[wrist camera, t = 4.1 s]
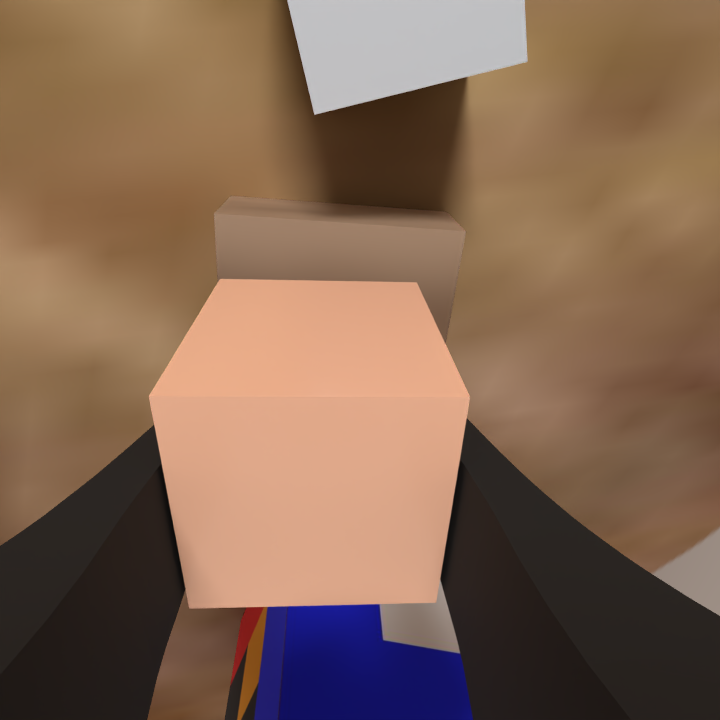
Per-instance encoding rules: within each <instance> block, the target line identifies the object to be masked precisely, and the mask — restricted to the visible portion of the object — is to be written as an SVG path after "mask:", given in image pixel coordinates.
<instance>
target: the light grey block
mask: <svg viewBox="0 0 720 720" xmlns="http://www.w3.org/2000/svg"><path fill="white" fill-rule="evenodd" d="M287 1H288V5H289V10H290V14H291V18H292V22H293V26H294V31H295V35H296V39H297V43H298V48H299V52H300V56H301V60H302V64H303V69H304V73H305V77H306V81H307V85H308V90H309V94H310V98H311V102H312V107H313V111H314V115H315V114H319V113H324V112H328V111H332V110H336V109H340V108H344V107H348V106H352V105H356V104H360V103H364V102H368V101H372V100H376V99H380V98H384V97H388V96H392V95H396V94H400V93H404V92H408V91H412V90H416V89H420V88H424V87H428V86H432V85H436V84H440V83H444V82H448V81H452V80H456V79H460V78H464V77H468V76H472V75H476V74H480V73H484V72H488V71H492V70H496V69H500V68H504V67H508V66H512V65H516V64H520V63H524V62H527V43H526V21H525V0H287Z"/></svg>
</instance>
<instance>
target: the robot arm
mask: <svg viewBox="0 0 720 720" xmlns="http://www.w3.org/2000/svg"><path fill="white" fill-rule="evenodd" d="M440 581H441V584H442V588H443V591H444V595H445V599H446V602H447V606H448V609H449V613H450V617H451V620H452V624H453V627H454V631H455V635H456V638H457V642H458V646H459V650H460V655H461V659H462V663H463V667H464V673H465V678H466V684H467V689H468V695H469V700H470V706H471V711H472V717H473V720H720V616H719V615H717V614H716V613H714V612H712V611H710V610H709V609H707V608H705V607H704V606H702V605H700V604H698V603H697V602H695V601H693V600H692V599H690V598H689V597H687V596H685V595H684V594H682V593H680V592H679V591H678V590H676V589H674V588H673V587H671V586H670V585H668V584H667V583H665V582H663V581H662V580H660V579H659V578H657V577H656V576H654V575H652V574H651V573H649V572H648V571H646V570H645V569H643V568H642V567H640V566H639V565H637V564H636V563H634V562H633V561H631V560H630V559H628V558H627V557H625V556H624V555H623V554H621V553H620V552H618V551H617V550H616V549H614V548H613V547H612V546H610V545H609V544H608V543H606V542H605V541H603V540H602V539H601V538H599V537H598V536H597V535H595V534H594V533H593V532H591V531H590V530H588V529H587V528H586V527H584V526H583V525H582V524H581V523H579V522H578V521H577V520H576V519H574V518H573V517H572V516H571V515H569V514H568V513H567V512H566V511H565V510H563V509H562V508H561V507H560V506H559V505H557V504H556V503H555V502H554V501H553V500H552V499H550V498H549V497H548V496H547V495H546V494H544V493H543V492H542V491H541V490H540V489H539V488H538V487H537V486H535V485H534V484H533V483H532V482H531V481H530V480H529V479H528V478H527V477H525V476H524V475H523V474H522V473H521V472H520V471H519V470H518V469H517V468H516V467H515V466H514V465H513V464H512V463H511V462H510V461H509V460H508V459H507V458H506V457H505V456H503V455H502V454H501V453H500V452H499V451H498V450H497V449H496V448H495V447H494V446H493V445H492V444H491V443H490V442H489V441H488V440H487V439H486V437H485V436H484V435H483V434H482V433H481V432H480V431H479V430H478V429H477V428H476V427H475V426H474V425H473V424H472V423H471V422H470V421H469V420H468V419H466V425H465V431H464V437H463V443H462V449H461V455H460V461H459V468H458V474H457V480H456V486H455V492H454V498H453V504H452V510H451V516H450V522H449V528H448V534H447V540H446V546H445V553H444V559H443V565H442V571H441V577H440ZM185 589H186V588H185V583H184V578H183V572H182V567H181V562H180V557H179V552H178V546H177V541H176V536H175V531H174V525H173V520H172V515H171V510H170V504H169V499H168V494H167V489H166V483H165V478H164V473H163V468H162V462H161V457H160V452H159V447H158V441H157V436H156V431H155V426H154V425H153V426H152V427H151V428H150V429H149V430H148V431H147V432H145V433H144V434H143V435H142V436H141V437H140V438H139V439H138V440H136V441H135V442H134V443H133V444H132V445H131V446H130V447H128V448H127V449H126V450H125V451H124V452H123V453H121V454H120V455H119V456H118V457H117V458H116V459H114V460H113V461H112V462H111V463H110V464H108V465H107V466H106V467H105V468H104V469H103V470H101V471H100V472H99V473H98V474H97V475H95V476H94V477H93V478H92V479H90V480H89V481H88V482H87V483H85V484H84V485H83V486H81V487H80V488H79V489H78V490H76V491H75V492H74V493H72V494H71V495H70V496H69V497H67V498H66V499H65V500H63V501H62V502H61V503H60V504H58V505H57V506H56V507H54V508H53V509H52V510H51V511H49V512H48V513H47V514H45V515H44V516H43V517H41V518H40V519H39V520H37V521H36V522H34V523H33V524H32V525H30V526H29V527H27V528H26V529H25V530H23V531H22V532H20V533H19V534H17V535H16V536H14V537H13V538H12V539H10V540H8V541H7V542H5V543H4V544H2V545H1V546H0V720H147V718H148V713H149V709H150V705H151V701H152V696H153V692H154V688H155V684H156V680H157V676H158V672H159V669H160V665H161V662H162V659H163V655H164V652H165V649H166V646H167V643H168V640H169V637H170V634H171V631H172V628H173V625H174V622H175V619H176V616H177V613H178V610H179V607H180V604H181V601H182V598H183V595H184V592H185Z"/></svg>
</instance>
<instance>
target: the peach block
mask: <svg viewBox="0 0 720 720" xmlns="http://www.w3.org/2000/svg"><path fill="white" fill-rule="evenodd" d="M149 399H150V405H151V410H152V415H153V420H154V426H155V431H156V436H157V441H158V447H159V452H160V457H161V462H162V468H163V473H164V478H165V483H166V489H167V494H168V499H169V504H170V510H171V515H172V520H173V525H174V531H175V536H176V541H177V546H178V552H179V557H180V562H181V567H182V572H183V578H184V583H185V588H186V593H187V599H188V604H189V609H191V608H233V607H276V606H318V605H360V604H403V603H436V601H437V595H438V589H439V583H440V577H441V571H442V565H443V559H444V553H445V546H446V540H447V534H448V528H449V522H450V516H451V510H452V504H453V498H454V492H455V486H456V480H457V474H458V468H459V461H460V455H461V449H462V443H463V437H464V431H465V425H466V419H467V413H468V407H469V401H470V396H469V394H468V392H467V390H466V387H465V385H464V383H463V381H462V379H461V377H460V374H459V372H458V370H457V368H456V366H455V364H454V362H453V359H452V357H451V355H450V353H449V351H448V349H447V346H446V344H445V342H444V340H443V338H442V336H441V334H440V331H439V329H438V327H437V325H436V323H435V321H434V318H433V316H432V314H431V312H430V310H429V308H428V306H427V303H426V301H425V299H424V297H423V295H422V293H421V290H420V288H419V286H418V284H417V282H370V281H313V280H257V279H220V280H219V281H218V283H217V285H216V286H215V288H214V290H213V291H212V293H211V295H210V296H209V298H208V300H207V301H206V303H205V305H204V306H203V308H202V310H201V311H200V313H199V314H198V316H197V318H196V319H195V321H194V323H193V324H192V326H191V328H190V329H189V331H188V333H187V334H186V336H185V338H184V339H183V341H182V343H181V344H180V346H179V347H178V349H177V351H176V352H175V354H174V356H173V357H172V359H171V361H170V362H169V364H168V366H167V367H166V369H165V371H164V372H163V374H162V376H161V377H160V379H159V380H158V382H157V384H156V385H155V387H154V389H153V390H152V392H151V394H150V395H149Z"/></svg>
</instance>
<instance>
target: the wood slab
mask: <svg viewBox="0 0 720 720" xmlns="http://www.w3.org/2000/svg"><path fill="white" fill-rule="evenodd" d="M214 222H215V240H216V258H217V277H218V281H219V280H220V279H257V280H313V281H370V282H417V284H418V286H419V288H420V290H421V293H422V295H423V297H424V299H425V301H426V303H427V306H428V308H429V310H430V312H431V314H432V316H433V318H434V321H435V323H436V325H437V327H438V329H439V331H440V334H441V336H442V338H443V340H444V342H445V344H446V339H447V333H448V328H449V322H450V317H451V311H452V306H453V300H454V295H455V289H456V284H457V279H458V273H459V268H460V262H461V257H462V251H463V246H464V240H465V235H466V231H465V230H464V229H463V228H462V227H461V226H460V225H459V224H458V223H457V222H456V221H455V220H454V219H453V218H452V217H451V216H450V215H449V214H448V213H447V212H444V211H431V210H417V209H404V208H390V207H377V206H363V205H350V204H337V203H323V202H310V201H296V200H283V199H269V198H256V197H242V196H230V197H229V198H228V199H227V200H226V201H225V202H224V204H223V205H222V206H221V207H220V208H219V209H218V210H217V211H216V212H215V213H214Z"/></svg>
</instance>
